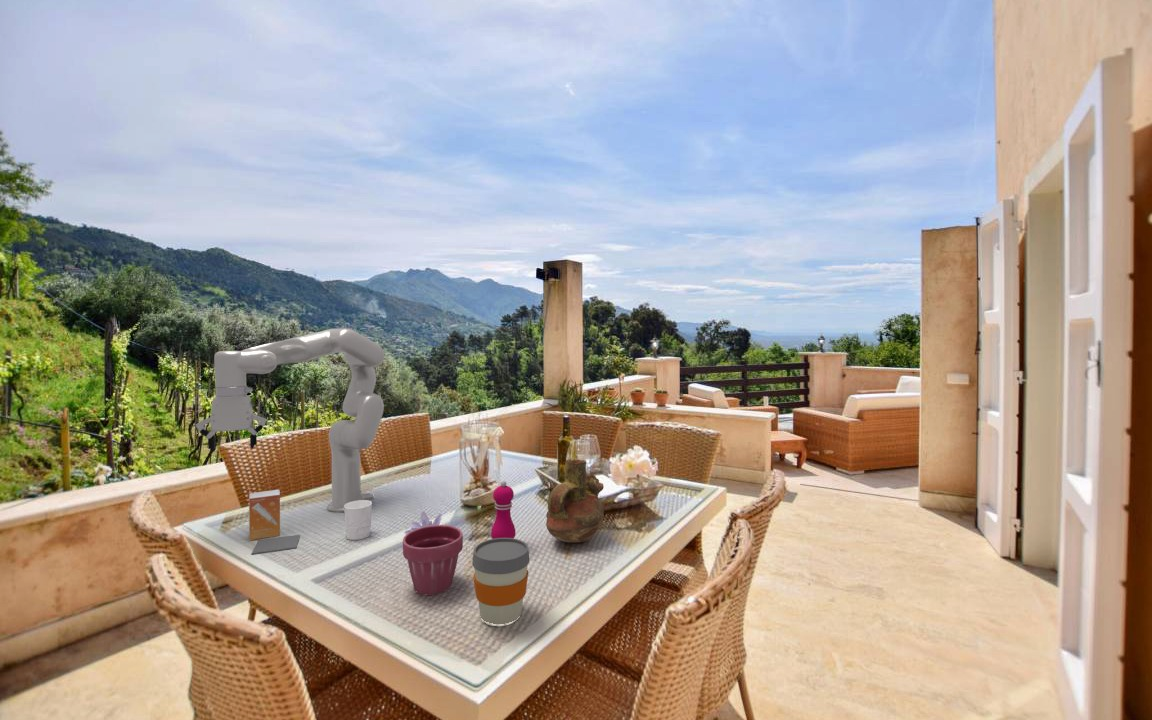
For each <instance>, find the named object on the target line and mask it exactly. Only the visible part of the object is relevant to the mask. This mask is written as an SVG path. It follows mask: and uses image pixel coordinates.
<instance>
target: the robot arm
mask: <svg viewBox="0 0 1152 720" xmlns="http://www.w3.org/2000/svg"><path fill="white" fill-rule="evenodd" d="M336 353H343V354H344V357H343V358H344V360H345V362H346V363H347V365H348V367H349V369H350V371H351V379H350V383H349V386H348V388H347V391H346V394H345V397H344V400H343V403H342V412H343V413H344V414H345V416H348V417H350V418H351V417H352V418H355V420H349V419H340V420H338V421H336V422H334V423H333V424H332V425H331V427H330V428H329V431H328V441H329V445H330V453H331V502H329V503H328V504H326V508H327V509H326V510H328V511H330V512H333V513H334V512H335V513H341V512H344V505H345V504H347V503H349V502H353V501H359V500H367V501H371V500H374V499H375V494H374V493H370V492H369V493H363V492H362V490H361V489H362V488H361V485H362V483H361V481H362V479H361V452H360V450H365V449H367V448H369V447H370V446H371V445H372V444H373V442H374V440H375V438H376V436H377V433H378V430H379V427H380V423H381V420H382V418H383V414H384V408H385V405H384V401H383V399H382V397H381V396H379V395H378V394H377V393H374V390H375V386H376V382H377V375H376V374H377V373H376V371H375V369H374V368H376V367H378V366H380V365H382V364H383V362H384V360H385V356H386V355H385V351H384V349H383V348H382V347H381V346H380V345H379V344H378V343H377V342H375V341H373V340H372V339H369V338H367V337H366V336H364V335H362V334H361V333H359V332H357V331H356V330H353V329H352V328H351V329H350V328H329V329H325V330H321V331H317V332H314V333H309V334H305V335H301V336H297V337H292V338H287V339H284V340H283V339H282V340H279V341H278V340H277V341H274V342H270V343H264V344H261V345H257V346H256V345H255V346H252V347H249V348H245V349H242V350H220V351H217V352H216V353H215V354H214V381H215V383H214V384H215V388H214V389H215V397H213V398H212V402H211V408H210V409H211V410H210V417H207V418H206V419H203V420H201V421H199V422H198V423H196V424H195V427H196V428H197V430H198V431H199V432H200V434H201V435H203V436H204V437H205V438H206V439H207V445H208V446H207V447H208V450H209V449H210V452H211V453H214V452H216V450H217V447H216V445H217V443H216V442H217V441H216V436H215V435H216V433H217V432H228V431H229V432H230V431H231V432H232V431H243V430H247V431H248V432H249V433H250V436H249V442H250V444H249V445H250V446H249V447H250V449H254V448H255V446H256V445H257V444H258V443H257V442H258V441H257V434H258V433H259V432H260V431H261V430H262V429H263V428H264V426H265V425H266V423H267V421H268V419H267V418H265V417H263V416H259V415H256V414H254V411H253V403H252V399H251V396H250V395H247V394H248V393H252V392H253V387H248V385H247V374H257V375H265V374H270V373H271V372H273V371H274V370H276V368H277V366H279V365H283V364H296V363H305V362H310V361H313V360H316V359H318V358H322V357H326V356H330V355H332V354H336ZM254 421H257V422H259V424H258V426H257V427H256V428H255V427H254V426H253V425H254ZM209 423H210V429H211V431H209V430H207V428H205V425H207V424H209ZM344 513H345V512H344Z"/></svg>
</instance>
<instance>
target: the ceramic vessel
mask: <svg viewBox="0 0 1152 720" xmlns="http://www.w3.org/2000/svg"><path fill="white" fill-rule="evenodd" d="M603 490H604V484H603V482H600V480H599V478H597V477H596V475H595V474H593V473H587V461H586V460H585V459H576V458H574V459H566V460H565V464H564V482H562V483H559V484H557V485H555V487H553V489H552V490H551V491H550V493H549V495H548V496H547V497H548V499H547V512H546V515H545V517H546V523H545V526H546V530H547V532H548V533H549V534H550V535H551V536H552V537H554V538H555V539H557V540H559V541H562V542H564V543H584V542H588V541H589V540H590V539H591V538H592V537H593V536H595V534H597V532H598V531H599V529H600V527H601V525H602V523H603V519H604V513H605V512H604V511H605V509H604V507H603V505H602V503H601V501H600V500H599V494H600V493H601V492H602V491H603Z"/></svg>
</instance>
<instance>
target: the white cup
mask: <svg viewBox="0 0 1152 720" xmlns="http://www.w3.org/2000/svg"><path fill="white" fill-rule="evenodd" d="M372 510H373V502H372V501H371V500H359V501H353V502H349V503H347V504H345V505H344V524H345V537H346V539H348V540H349V541H358V540H362V539H366V538H369V536H370V535H371V526H372V516H373V515H372V513H373V512H372Z"/></svg>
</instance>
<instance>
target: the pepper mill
mask: <svg viewBox="0 0 1152 720" xmlns="http://www.w3.org/2000/svg"><path fill="white" fill-rule="evenodd" d="M492 493H493V494H492V498H493V501H495V502H494V509H496V510H495V511H496V512H495V513H496V515H495V520H494V522H493V525H492V527H491V530H490V537H491V539H495V538H513V539H515V538H516V537H515V536H516V535H517V533H516V532H517V531H516V528H515V525H514V522H513V520H512V517H511V516H512V515H511V509H512V507H513V499H514V496H515V493H514V490H513V488H512V487H511V486H509V485H507V481H506V480H502V481H500V485H499V486H497V487H496V488H495V489H494V490H493V492H492Z"/></svg>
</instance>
